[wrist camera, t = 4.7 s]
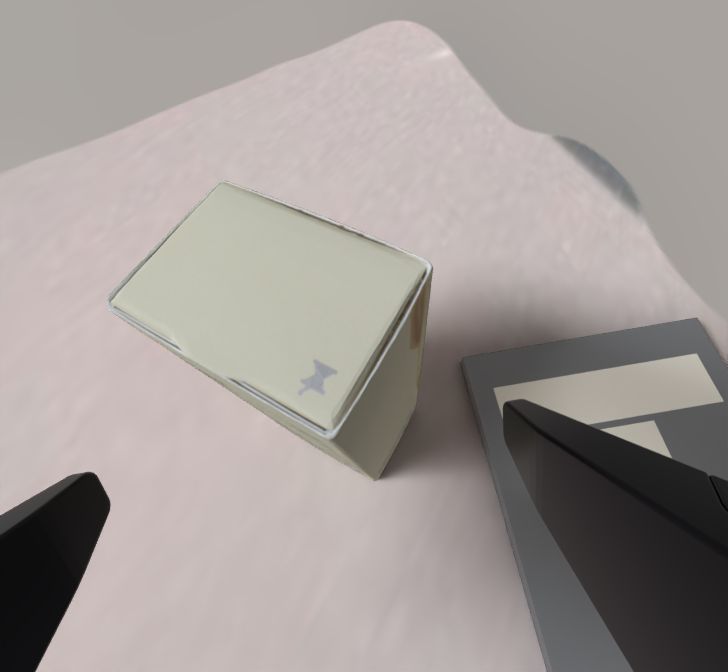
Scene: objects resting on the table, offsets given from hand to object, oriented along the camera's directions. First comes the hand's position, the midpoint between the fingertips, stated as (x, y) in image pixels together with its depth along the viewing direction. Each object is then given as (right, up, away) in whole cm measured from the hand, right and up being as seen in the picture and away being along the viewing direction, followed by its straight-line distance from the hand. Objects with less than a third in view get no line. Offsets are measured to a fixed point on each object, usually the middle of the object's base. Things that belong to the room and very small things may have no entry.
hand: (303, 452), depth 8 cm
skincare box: (0, -1, +11) cm, 11 cm away
